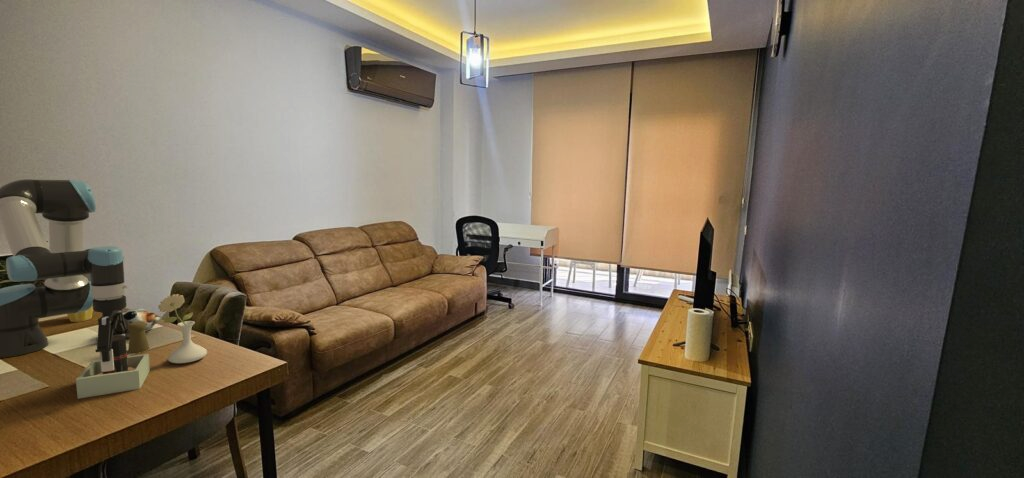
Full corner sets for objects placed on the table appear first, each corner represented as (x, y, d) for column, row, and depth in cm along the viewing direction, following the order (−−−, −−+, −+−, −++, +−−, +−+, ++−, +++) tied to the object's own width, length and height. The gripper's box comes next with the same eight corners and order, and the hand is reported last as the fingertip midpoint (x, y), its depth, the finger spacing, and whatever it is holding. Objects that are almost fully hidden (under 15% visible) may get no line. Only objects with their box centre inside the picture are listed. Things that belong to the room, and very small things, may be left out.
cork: (153, 347, 160) (151, 320, 159) (138, 354, 154) (136, 325, 153) (139, 346, 161) (137, 319, 159) (123, 352, 155) (121, 324, 153)
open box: (93, 378, 135) (92, 361, 134) (149, 370, 142) (148, 353, 142) (77, 398, 123) (75, 379, 123) (139, 388, 130) (138, 370, 130)
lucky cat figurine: (154, 325, 182) (164, 300, 179) (152, 344, 174) (163, 318, 171) (107, 322, 172) (117, 295, 169) (103, 342, 164) (113, 314, 160)
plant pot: (56, 322, 181) (54, 300, 179) (84, 315, 191) (82, 294, 189) (76, 324, 179) (74, 302, 178) (103, 317, 189) (101, 296, 188)
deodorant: (133, 381, 135) (129, 337, 133) (110, 389, 129) (106, 343, 127) (121, 377, 137) (118, 333, 135) (98, 385, 131) (94, 340, 129)
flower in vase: (204, 350, 160) (201, 287, 156) (210, 360, 152) (206, 294, 148) (160, 359, 151) (155, 292, 147) (163, 370, 143) (159, 300, 139)
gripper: (113, 306, 120) (119, 376, 123) (135, 286, 142) (139, 345, 144) (77, 309, 117) (84, 381, 119) (105, 288, 138) (110, 349, 141)
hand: (114, 362), depth 132 cm, fingers open, 13 cm apart
